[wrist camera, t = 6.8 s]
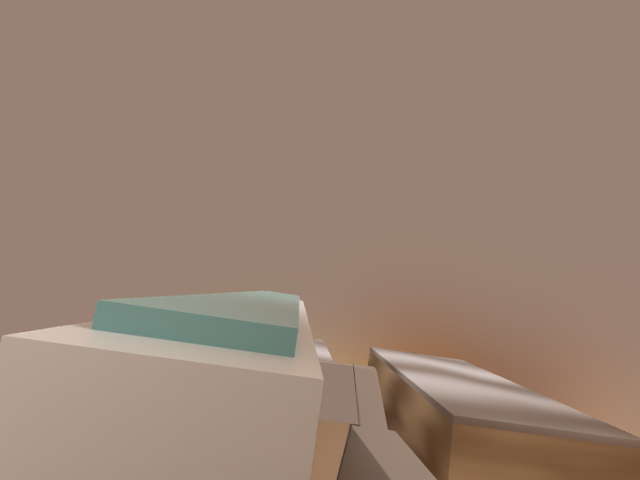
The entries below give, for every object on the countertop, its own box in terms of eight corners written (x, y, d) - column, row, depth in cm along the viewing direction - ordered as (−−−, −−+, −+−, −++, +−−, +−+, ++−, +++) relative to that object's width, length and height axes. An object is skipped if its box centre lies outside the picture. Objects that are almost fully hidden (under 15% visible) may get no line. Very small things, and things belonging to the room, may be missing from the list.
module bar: (280, 695, 3) (328, 342, 4) (-85, 656, 3) (12, 297, 4) (297, 336, 29) (303, 296, 30) (255, 330, 29) (262, 290, 29)
